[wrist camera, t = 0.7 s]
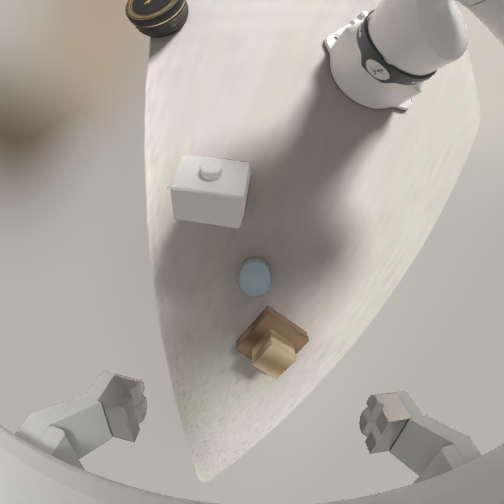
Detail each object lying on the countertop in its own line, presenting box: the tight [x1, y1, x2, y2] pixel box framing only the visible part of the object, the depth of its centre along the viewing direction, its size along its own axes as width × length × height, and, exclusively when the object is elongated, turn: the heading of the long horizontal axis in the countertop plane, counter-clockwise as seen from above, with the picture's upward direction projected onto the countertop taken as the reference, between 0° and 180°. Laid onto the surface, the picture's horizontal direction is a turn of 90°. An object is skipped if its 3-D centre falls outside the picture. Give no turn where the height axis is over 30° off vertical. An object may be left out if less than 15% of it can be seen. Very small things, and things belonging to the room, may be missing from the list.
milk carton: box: [168, 155, 251, 228], centre depth 34 cm, size 7×7×19 cm
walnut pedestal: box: [236, 306, 309, 359], centre depth 48 cm, size 9×9×3 cm
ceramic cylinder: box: [239, 258, 271, 297], centre depth 44 cm, size 5×5×5 cm
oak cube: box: [252, 328, 297, 379], centre depth 44 cm, size 5×5×5 cm
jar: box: [126, 0, 188, 37], centre depth 32 cm, size 10×10×8 cm
